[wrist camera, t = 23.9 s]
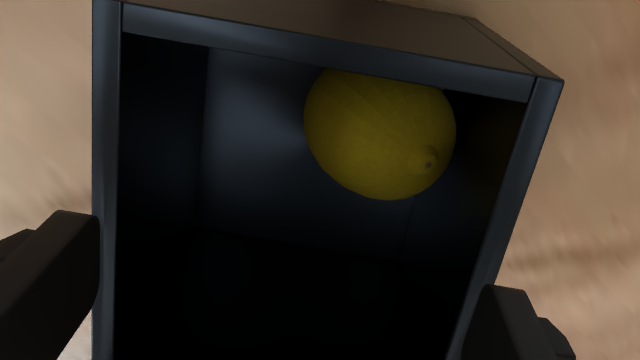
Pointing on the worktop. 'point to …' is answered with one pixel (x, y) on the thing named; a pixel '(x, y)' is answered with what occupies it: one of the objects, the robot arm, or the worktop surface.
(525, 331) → the robot arm
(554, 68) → the worktop surface
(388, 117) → the lemon
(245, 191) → the bin
